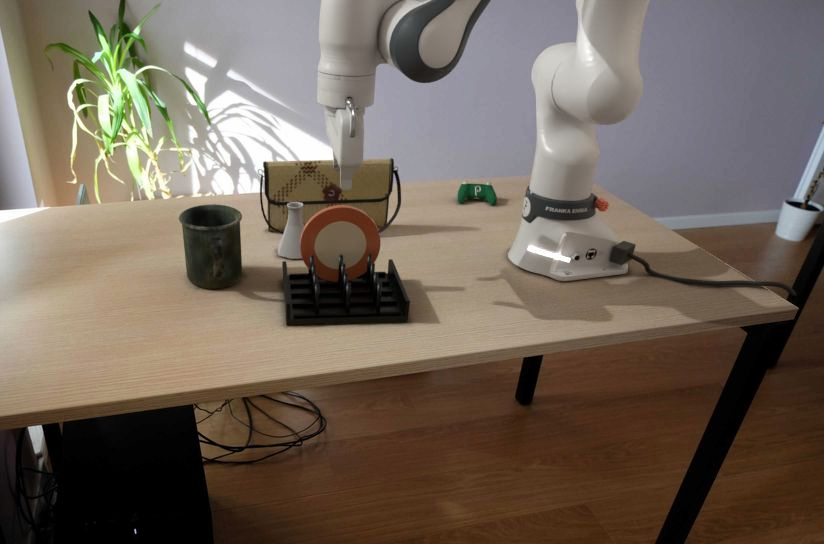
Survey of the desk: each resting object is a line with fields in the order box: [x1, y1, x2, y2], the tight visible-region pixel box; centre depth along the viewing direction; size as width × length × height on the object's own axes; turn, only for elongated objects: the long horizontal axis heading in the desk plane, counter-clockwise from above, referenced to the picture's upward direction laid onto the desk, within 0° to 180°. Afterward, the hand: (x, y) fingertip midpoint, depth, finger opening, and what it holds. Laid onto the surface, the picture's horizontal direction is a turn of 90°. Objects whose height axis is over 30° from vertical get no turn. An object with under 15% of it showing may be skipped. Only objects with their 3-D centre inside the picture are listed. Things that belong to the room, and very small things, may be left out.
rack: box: [281, 254, 411, 327], centre depth 113 cm, size 20×16×7 cm
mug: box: [178, 204, 243, 290], centre depth 117 cm, size 11×15×12 cm
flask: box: [277, 202, 304, 260], centre depth 129 cm, size 7×7×10 cm
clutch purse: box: [257, 157, 402, 235], centre depth 137 cm, size 30×7×15 cm, turn 99°
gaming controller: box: [457, 180, 498, 206], centre depth 158 cm, size 9×4×6 cm
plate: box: [300, 205, 381, 282], centre depth 115 cm, size 14×1×14 cm, turn 95°
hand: (341, 179), depth 109 cm, fingers open, 8 cm apart
